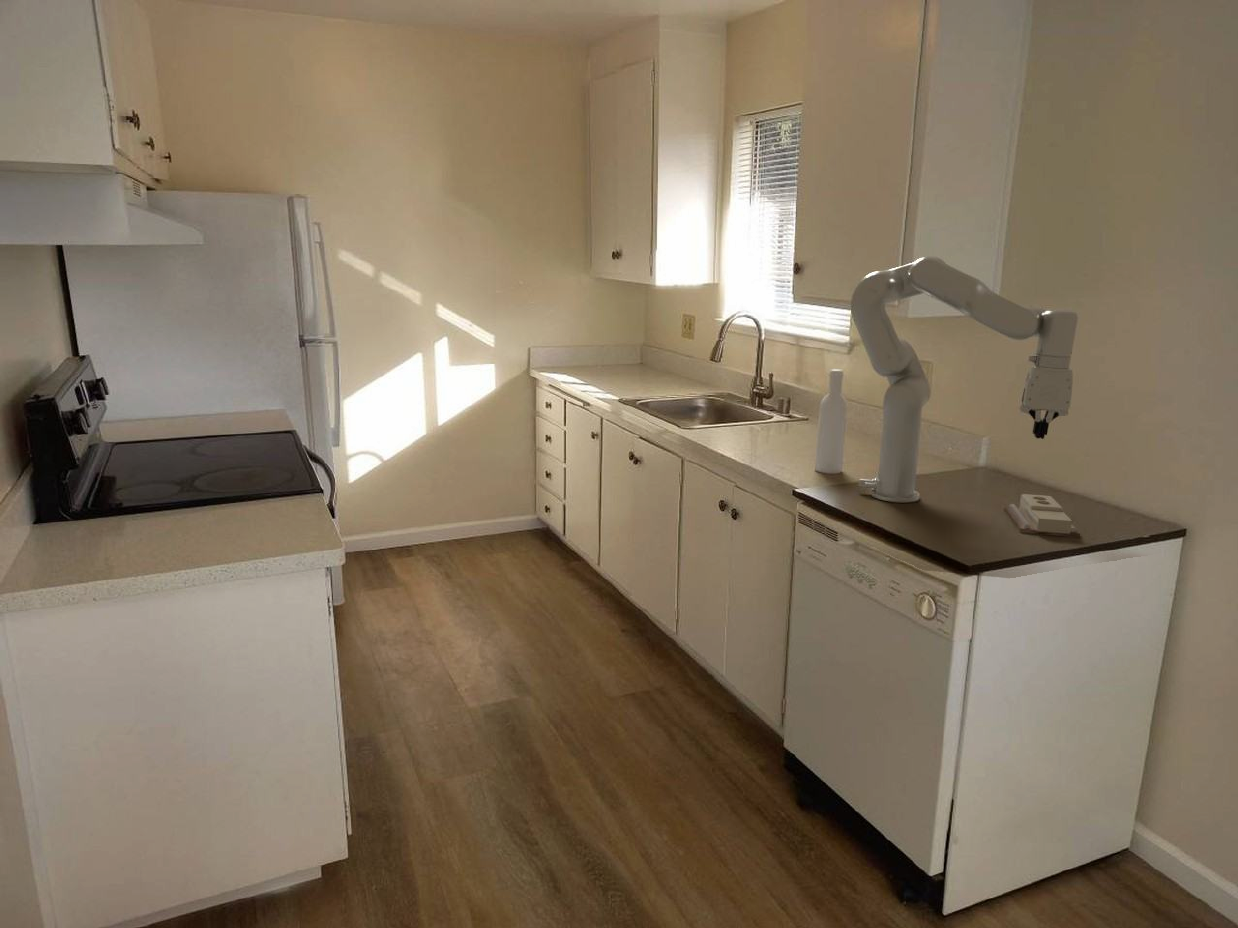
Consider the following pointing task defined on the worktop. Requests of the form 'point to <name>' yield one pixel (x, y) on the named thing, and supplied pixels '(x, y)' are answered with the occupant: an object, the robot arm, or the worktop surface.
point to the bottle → (832, 427)
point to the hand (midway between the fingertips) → (1039, 437)
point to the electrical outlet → (1045, 514)
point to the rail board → (1027, 527)
